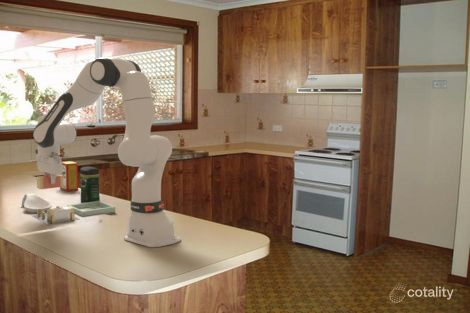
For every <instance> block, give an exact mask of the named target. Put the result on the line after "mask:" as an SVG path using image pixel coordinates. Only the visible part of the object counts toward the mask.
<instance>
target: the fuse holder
mask: <svg viewBox="0 0 470 313" xmlns="http://www.w3.org/2000/svg"><path fill="white" fill-rule="evenodd" d="M75 214H76V213H74V208H73V207H71V206H68V207H67V206H63V207H62V206H61V207H60V206H59V205H57V206H56V207H55V208H50V209H47V211H46V212H45V211H42V212H41V209H37V213H36V214H34V215H33V214H32V215H31V217H32V218H34V219H36V220H38V221H39V222H42V223H44V224H45V225H46V226H49V225H55V224H61V223H66V222H73V221H79V220H81V219H80V218H79V217H76V216H75Z"/></svg>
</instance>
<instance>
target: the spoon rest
mask: <svg viewBox="0 0 470 313" xmlns="http://www.w3.org/2000/svg"><path fill="white" fill-rule="evenodd" d="M21 206H22V207H24V209H25V211H27V212H28V213H32V214H38V213H37V209H41V213H42V211H45V213H47V209H52V206H53V205H52V203H51V202H50V201H48V200H46V199H44V197H43V198H42V197H41V196H40V195H38V194H35V193H33V192H32V193H30V194H29V193H25V194H24V195H23V197H22V200H21Z"/></svg>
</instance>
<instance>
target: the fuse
mask: <svg viewBox="0 0 470 313" xmlns="http://www.w3.org/2000/svg"><path fill="white" fill-rule="evenodd" d="M50 179H51V176H50V174H49V176H44V175H41V176H36V189H39V190H47V189H55V188H57V189H58V188H60V187H63V175H56V179H55V184H51V183H50Z"/></svg>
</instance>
